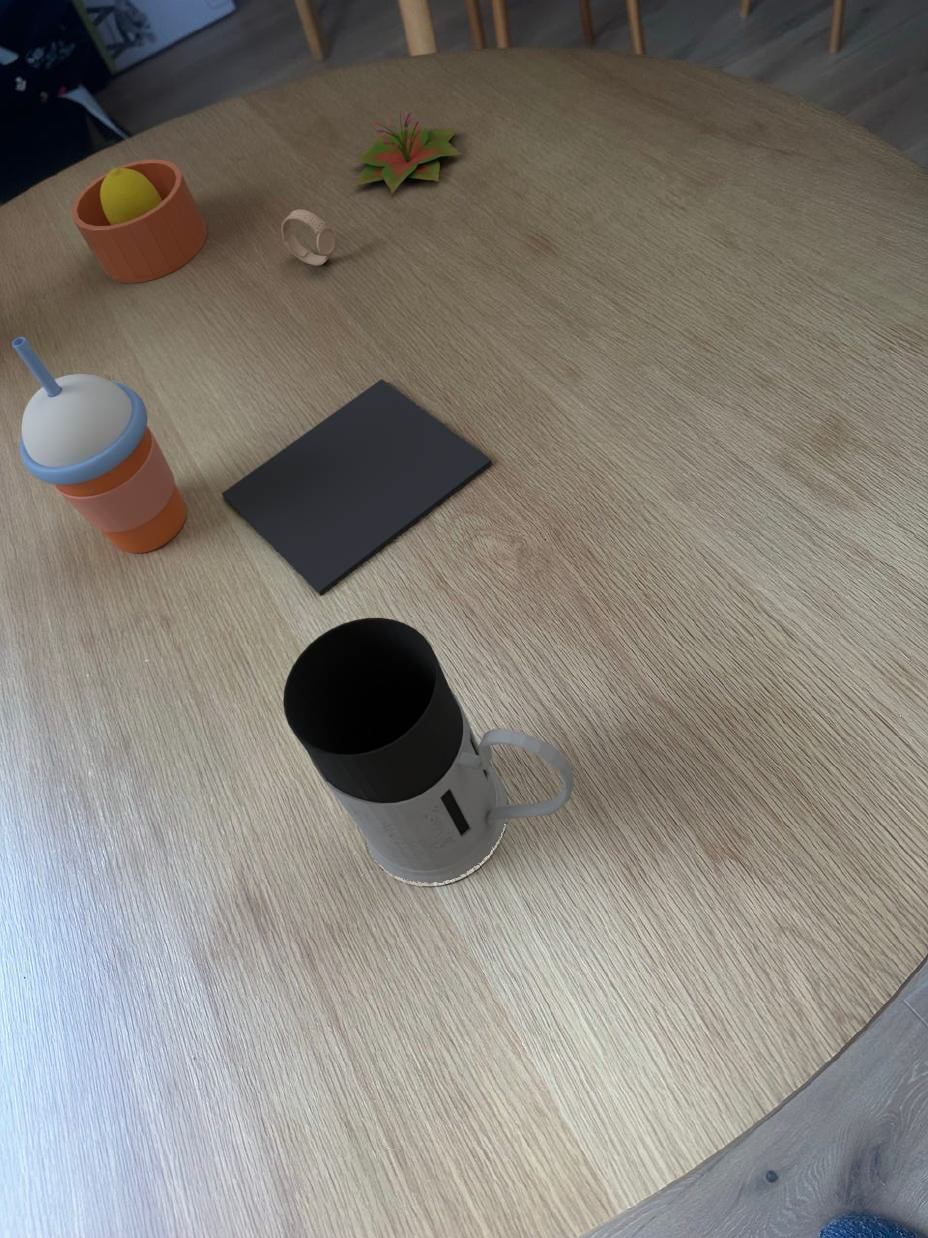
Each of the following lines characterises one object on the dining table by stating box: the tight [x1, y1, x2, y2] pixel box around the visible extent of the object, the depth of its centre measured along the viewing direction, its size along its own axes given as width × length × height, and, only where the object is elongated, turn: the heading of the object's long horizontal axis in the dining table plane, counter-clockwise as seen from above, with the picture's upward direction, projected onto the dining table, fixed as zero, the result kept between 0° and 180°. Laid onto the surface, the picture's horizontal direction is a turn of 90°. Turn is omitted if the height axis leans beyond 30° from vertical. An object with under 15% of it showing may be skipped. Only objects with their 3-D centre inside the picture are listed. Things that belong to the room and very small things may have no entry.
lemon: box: [100, 167, 162, 226], centre depth 96 cm, size 6×6×8 cm
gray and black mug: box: [282, 617, 575, 884], centre depth 51 cm, size 9×14×15 cm, turn 67°
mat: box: [221, 378, 493, 596], centre depth 74 cm, size 16×14×1 cm
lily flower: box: [352, 110, 463, 194], centre depth 96 cm, size 12×12×5 cm
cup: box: [70, 158, 208, 284], centre depth 97 cm, size 11×11×6 cm
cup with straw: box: [11, 336, 187, 554], centre depth 69 cm, size 9×9×18 cm
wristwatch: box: [280, 209, 337, 267], centre depth 90 cm, size 3×5×5 cm, turn 60°
